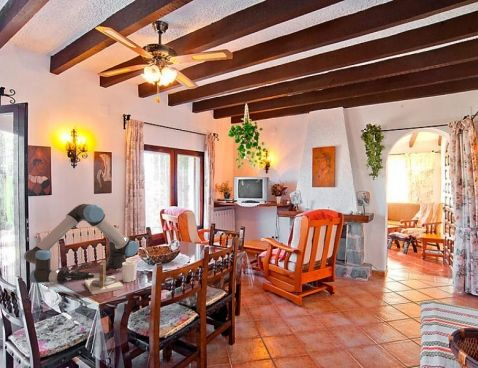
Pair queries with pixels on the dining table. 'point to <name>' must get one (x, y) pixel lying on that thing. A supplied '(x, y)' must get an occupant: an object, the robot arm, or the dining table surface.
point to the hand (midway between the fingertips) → (99, 275)
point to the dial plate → (97, 290)
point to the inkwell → (81, 267)
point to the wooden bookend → (103, 277)
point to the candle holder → (129, 271)
